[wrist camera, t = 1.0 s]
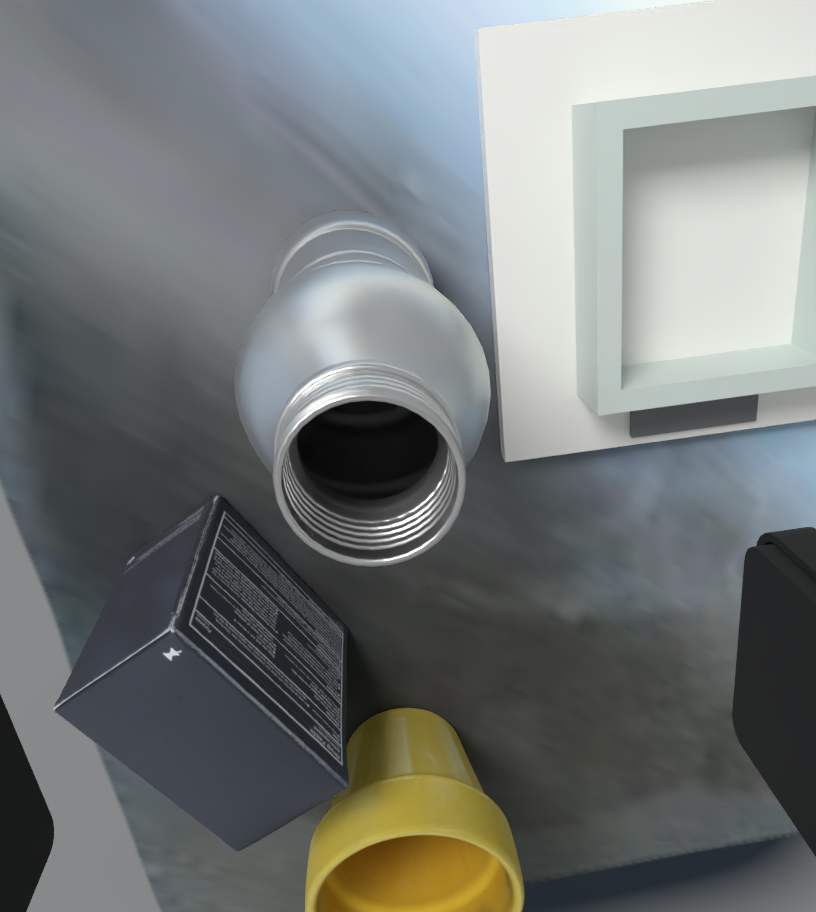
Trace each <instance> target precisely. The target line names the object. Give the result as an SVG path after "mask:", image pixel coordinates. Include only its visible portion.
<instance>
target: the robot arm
mask: <svg viewBox="0 0 816 912" xmlns="http://www.w3.org/2000/svg"><path fill="white" fill-rule="evenodd" d="M732 716H733V725H734V729H735V732H736V735H737V738H738V740H739V742H740V744H741V746H742V747H743V749H744V750H745V752H746V753H747V755H748V756H749V758H750V759H751V761H752V762H753V764H754V765H755V767H756V768H757V770H758V771H759V773H760V774H761V776H762V777H763V779H764V780H765V782H766V783H767V785H768V786H769V788H770V789H771V791H772V792H773V793H774V795H775V796H776V798H777V799H778V801H779V802H780V804H781V805H782V807H783V808H784V810H785V811H786V813H787V814H788V816H789V817H790V819H791V820H792V822H793V823H794V825H795V826H796V828H797V829H798V831H799V832H800V834H801V835H802V837H803V838H804V840H805V841H806V843H807V844H808V846H809V847H810V849H811V850H812V852H813V853H814V855H815V856H816V529H815V528H813V527H805V528H798V529H791V530H784V531H777V532H770V533H765V534H763V535H761V536H760V538H759V540H758V542H757V546H755V547H751V548H749V549H748V550H747V552H746V555H745V561H744V574H743V586H742V599H741V611H740V624H739V636H738V649H737V662H736V674H735V687H734V699H733V712H732ZM53 839H54V826H53V820H52V816H51V814H50V811H49V809H48V807H47V804H46V802H45V800H44V797H43V795H42V793H41V790H40V788H39V785H38V783H37V780H36V778H35V776H34V774H33V771H32V769H31V766H30V764H29V762H28V759H27V757H26V755H25V752H24V750H23V747H22V745H21V742H20V740H19V738H18V735H17V733H16V731H15V728H14V726H13V723H12V721H11V719H10V716H9V714H8V711H7V709H6V707H5V704H4V702H3V700H2V697H1V695H0V912H26V911H27V908H28V906H29V903H30V901H31V899H32V896H33V894H34V891H35V889H36V886H37V884H38V881H39V879H40V877H41V874H42V872H43V869H44V867H45V864H46V862H47V860H48V857H49V855H50V851H51V849H52V845H53Z"/></svg>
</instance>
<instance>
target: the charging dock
mask: <svg viewBox="0 0 816 912" xmlns="http://www.w3.org/2000/svg"><path fill="white" fill-rule="evenodd" d="M474 44H475V60H476V75H477V90H478V106H479V121H480V136H481V152H482V167H483V182H484V198H485V213H486V228H487V244H488V259H489V275H490V290H491V305H492V321H493V336H494V351H495V367H496V382H497V397H498V413H499V428H500V443H501V455H502V457H503V459H504V461H505V462H512V461H519V460H526V459H534V458H541V457H548V456H555V455H563V454H570V453H577V452H584V451H592V450H599V449H606V448H614V447H621V446H628V445H635V444H643V443H650V442H657V441H664V440H672V439H679V438H686V437H694V436H701V435H708V434H715V433H723V432H730V431H737V430H744V429H752V428H759V427H766V426H773V425H781V424H788V423H795V422H803V421H810V420H816V0H715V1H706V2H698V3H689V4H681V5H672V6H664V7H655V8H647V9H638V10H630V11H621V12H613V13H604V14H596V15H588V16H579V17H571V18H562V19H554V20H545V21H537V22H528V23H520V24H511V25H503V26H494V27H486V28H478V29H477V30H475V31H474Z"/></svg>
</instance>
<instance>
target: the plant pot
mask: <svg viewBox="0 0 816 912" xmlns="http://www.w3.org/2000/svg"><path fill="white" fill-rule="evenodd" d="M346 750H347V767H348V774H349V775H348V776H349V785H348V788H346V789H345V790H343V791H341V792H339V793H337V794H336V795H334V797H333V801H332V805H331V808H330V810H329V811H328V812H327V813H326V814H325V815H324V817H323V818H322V820H321V821H320V822H319V824H318V826H317V828H316V830H315V832H314V835H313V838H312V841H311V845H310V851H309V859H308V868H307V879H306V895H305V912H522V909H523V905H524V884H523V878H522V873H521V868H520V863H519V859H518V854H517V850H516V847H515V843H514V839H513V836H512V833H511V829H510V826H509V824H508V821H507V819H506V817H505V815H504V814H503V812H502V811H501V809H500V808H499V807H498V806H497V805H496V804H495V802H494V801H493V800H492V799H490V798H489V797H488V796H487V795H486V794H484V792H483V790H482V788H481V786H480V783H479V781H478V779H477V777H476V775H475V773H474V771H473V768H472V766H471V764H470V762H469V760H468V758H467V755H466V753H465V751H464V749H463V746H462V744H461V742H460V739H459V737H458V735H457V733H456V732H455V730H454V729H453V727H452V726H451V725H450V724H449V723H448V722H447V721H446V720H444V719H443V718H442V717H440V716H438V715H436V714H435V713H433V712H430V711H427V710H423V709H418V708H397V709H391V710H387V711H384V712H381V713H379V714H376V715H374V716H372V717H371V718H369V719H368V720H366V721H365V722H364V723H362V724H361V725H360V726H359V727H358V728H357V729H356V731H355V732H354V733H353V735H352V736H351V738H350V740H349V742H348V745H347V748H346Z"/></svg>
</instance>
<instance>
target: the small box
mask: <svg viewBox="0 0 816 912" xmlns="http://www.w3.org/2000/svg"><path fill="white" fill-rule="evenodd" d="M347 635H348V629H347V627H346V626H345V625H344V624H343V623H342V622H341V621H340V620H339V619H338V618H337V617H336V616H335V615H334V613H333V612H332V611H331V610H330V609H329V608H328V607H327V606H326V605H325V604H324V603H323V602H322V601H321V600H320V599H319V598H318V597H317V596H316V595H315V594H314V593H313V592H312V591H311V589H310V588H309V587H308V586H307V585H306V584H305V583H304V582H303V581H302V580H301V579H300V578H299V577H298V576H297V575H296V574H295V573H294V572H293V571H292V570H291V569H290V568H289V567H288V566H287V565H286V564H285V562H284V561H283V560H282V559H281V558H280V557H279V556H278V555H277V554H276V553H275V552H274V551H273V550H272V549H271V548H270V547H269V546H268V545H267V544H266V543H265V542H264V540H263V539H262V538H261V537H260V536H259V535H258V534H257V533H256V532H255V531H254V530H253V529H252V528H251V527H250V526H249V525H248V524H247V523H246V522H245V521H244V520H243V519H242V518H241V517H240V516H239V515H238V514H237V513H236V512H235V511H234V510H233V509H232V508H231V507H230V506H229V505H228V504H227V503H226V502H225V501H224V500H223V498H222V497H221V496H211V497H210V498H209V499H207V500H205V501H204V502H203V503H202V504H201V505H200V507H198V508H197V509H196V510H193V511H191V512H190V514H189V515H187V516H186V517H184V518H183V519H182V520H181V521H179V522H177V523H176V524H175V525H174V526H172V527H171V528H169V529H168V530H166V531H164V532H163V533H162V534H161V535H160V536H158V537H156V538H155V539H153V540H150V541H148V543H146V544H145V545H144V546H143V547H141V548H140V549H139V550H138V551H137V552H136V553H135V554H134V555H132V556H131V557H129V558H128V559H127V561H126V563H125V566H124V568H123V570H122V572H121V574H120V576H119V578H118V580H117V582H116V584H115V586H114V588H113V590H112V592H111V594H110V596H109V598H108V600H107V602H106V604H105V606H104V608H103V610H102V612H101V615H100V617H99V619H98V621H97V622H96V625H95V627H94V628H93V631H92V633H91V635H90V637H89V638H88V640H87V643H86V645H85V646H84V648H83V651H82V653H81V655H80V657H79V658H78V660H77V662H76V664H75V666H74V668H73V671H72V673H71V675H70V677H69V679H68V681H67V683H66V685H65V687H64V689H63V691H62V693H61V695H60V697H59V699H58V700H57V702H56V703H55V706H54V711H55V712H56V713H58V714H59V715H60V716H62V717H63V718H64V719H66V720H67V721H68V722H70V723H71V724H72V725H73V726H75V727H76V728H77V729H78V730H80V731H81V732H82V733H84V734H85V735H86V736H87V737H89V738H90V739H91V740H93V741H94V742H95V743H97V744H98V745H99V746H101V747H102V748H103V749H105V750H106V751H107V752H109V753H110V754H111V755H112V756H114V757H115V758H116V759H118V760H119V761H120V762H122V763H123V764H124V765H126V766H127V767H128V768H129V769H131V770H132V771H133V772H135V773H136V774H137V775H138V776H140V777H141V778H142V779H144V780H145V781H146V782H147V783H149V784H150V785H151V786H153V787H154V788H155V789H156V790H158V791H159V792H160V793H162V794H163V795H164V796H166V797H167V798H168V799H169V800H171V801H172V802H173V803H175V804H176V805H177V806H178V807H180V808H181V809H182V810H184V811H185V812H186V813H188V814H189V815H190V816H191V817H193V818H194V819H195V820H197V821H198V822H199V823H200V824H202V825H203V826H204V827H205V828H207V829H208V830H209V831H210V832H212V833H213V834H214V835H216V836H217V837H218V838H219V839H221V840H222V841H223V842H225V843H226V844H227V845H228V846H230V847H231V848H232V849H233V850H235V851H241V850H243V849H244V848H246V847H248V846H250V845H252V844H254V843H255V842H257V841H259V840H261V839H262V838H264V837H266V836H268V835H269V834H271V833H272V832H274V831H276V830H278V829H279V828H281V827H282V826H284V825H286V824H288V823H289V822H291V821H293V820H294V819H296V818H297V817H299V816H301V815H303V814H304V813H306V812H308V811H309V810H311V809H313V808H314V807H316V806H318V805H319V804H321V803H323V802H324V801H326V800H327V799H329V798H331V797H332V796H334V795H336V794H337V793H339V792H341V791H343V790H345V789H346V788H348V785H349V776H348V775H349V774H348V767H347V750H346V735H347V733H346V716H347V712H346V679H347V675H346V669H347V663H346V662H347V660H346V656H347V653H346V652H347Z"/></svg>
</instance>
